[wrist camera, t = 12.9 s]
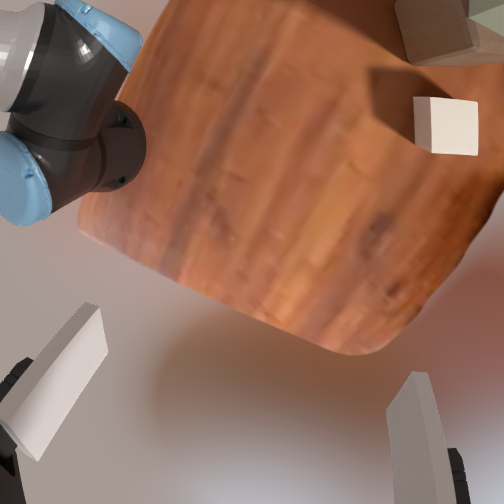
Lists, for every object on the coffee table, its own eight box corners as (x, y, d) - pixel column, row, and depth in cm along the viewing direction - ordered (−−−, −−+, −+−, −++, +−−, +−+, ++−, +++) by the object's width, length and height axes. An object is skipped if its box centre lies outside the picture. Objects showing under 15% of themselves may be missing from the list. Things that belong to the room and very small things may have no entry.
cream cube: (414, 144, 40) (431, 152, 34) (412, 96, 37) (430, 96, 31) (456, 146, 38) (477, 155, 32) (455, 100, 35) (477, 102, 29)
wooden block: (466, 67, 33) (549, 61, 15) (406, 67, 35) (472, 50, 17) (451, 5, 29) (522, -32, 11) (390, 2, 31) (440, -51, 13)
